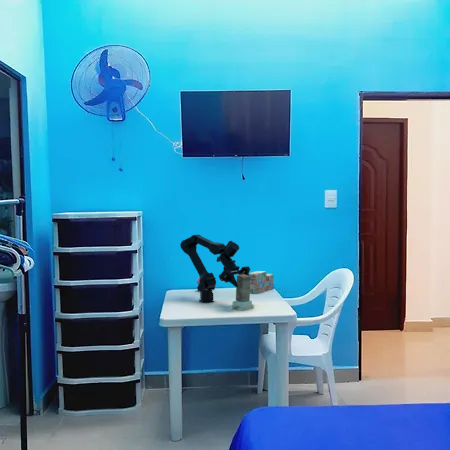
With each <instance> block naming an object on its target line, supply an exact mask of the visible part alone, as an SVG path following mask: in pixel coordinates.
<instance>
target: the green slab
mask: <svg viewBox="0 0 450 450" xmlns="http://www.w3.org/2000/svg"><path fill="white" fill-rule="evenodd" d="M252 304H253V301H252V300H251V299H250V300H249V301H247V302H240V301H237V300H236V299H235V300H233V301H232V305H234V306H240V307H245V306H249V305H252Z"/></svg>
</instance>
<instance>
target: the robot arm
mask: <svg viewBox="0 0 450 450" xmlns="http://www.w3.org/2000/svg"><path fill="white" fill-rule="evenodd" d="M197 245H200V246H202V247H204V248H206V249H208V250H209V252H210V253H211V254H212V255H213V256H215V255H216V256H217V257H216V262H217V263H218V262H219V263H221V265H222V266H223V269H222V272H221V273H220V274H219V275H218V278H219V280H220V281H221V282H224V283H230V284H232V286H234V287H235V288H236V287H238V284H237V278H236V277H235V276H237V275H243V274H245V275H248V276H249V273H251V272H250V271H251V268H250V267H249V266H247V265H246V266H242V267H240V266H239V265H236V260H235V259H234V260H233V259H232V258H233V257H234V256H235V255H236V254H237V252H238V251H239V250H240V246H239V244H237V243H236V242H234V241H233V240H229V241H228V242H227V244H224V243H222V242H215V241H212V240H211V239H208V238H206V237H204V236H202V235H200V234H193V235H191V236H190V237H187V238H186V239H182V240H181V242H180V249H181V250H182V252H183V253H184V254H185V255H187V256H188V257H189V259H190V261H191V262H192V264H193V266H194V268H195V270H196V271H197V274H198V275H199V276H200V279H199V281H200V284H199V286H197V287H196V288H197V291H198V292H199V297H200V298H199V302H200V303H202V304H205V303H214V301H215V300H214V292H213V291H214V290H215V289H216V285H217V280H216V277H215V276H214V273H213V272H208V270H207V269H206V266H205V265H204V262H203V261H202V259H201V257H200V255H199V253H198V252H197V248H198V247H197ZM218 255H219V256H218ZM199 276H198V277H199Z"/></svg>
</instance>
